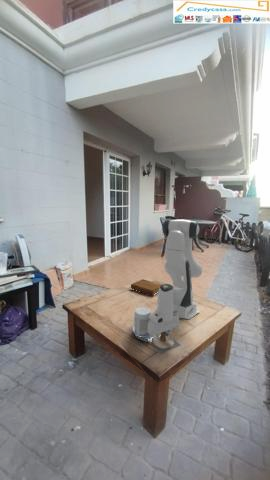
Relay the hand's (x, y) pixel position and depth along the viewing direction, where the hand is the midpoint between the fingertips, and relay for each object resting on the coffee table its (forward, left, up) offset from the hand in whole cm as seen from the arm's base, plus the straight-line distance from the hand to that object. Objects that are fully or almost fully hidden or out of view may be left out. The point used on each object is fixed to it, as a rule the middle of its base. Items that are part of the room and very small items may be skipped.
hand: (163, 337), depth 121 cm
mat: (0, 0, -3) cm, 3 cm away
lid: (0, 0, -3) cm, 3 cm away
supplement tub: (+5, -13, -4) cm, 14 cm away
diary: (-39, -66, -4) cm, 77 cm away
